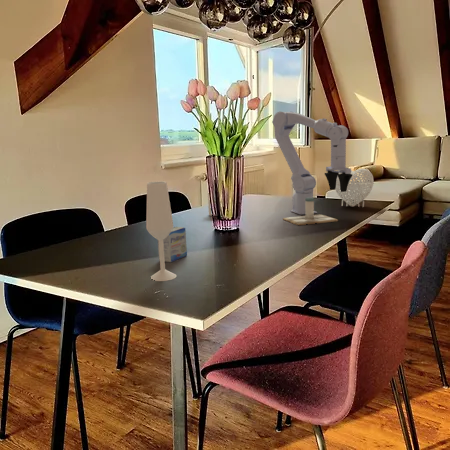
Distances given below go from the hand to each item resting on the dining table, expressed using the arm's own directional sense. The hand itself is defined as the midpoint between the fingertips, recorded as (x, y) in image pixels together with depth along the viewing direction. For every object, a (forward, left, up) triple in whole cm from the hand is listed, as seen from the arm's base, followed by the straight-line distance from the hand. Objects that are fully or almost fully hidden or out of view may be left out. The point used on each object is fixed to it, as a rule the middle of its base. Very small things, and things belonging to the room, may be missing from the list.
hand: (337, 190), depth 182 cm
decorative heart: (-16, +18, -11) cm, 26 cm away
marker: (+2, -14, -10) cm, 17 cm away
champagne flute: (+48, -81, -11) cm, 95 cm away
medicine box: (+32, -75, -11) cm, 82 cm away
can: (-28, -43, -11) cm, 52 cm away
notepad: (+2, -14, -10) cm, 18 cm away
